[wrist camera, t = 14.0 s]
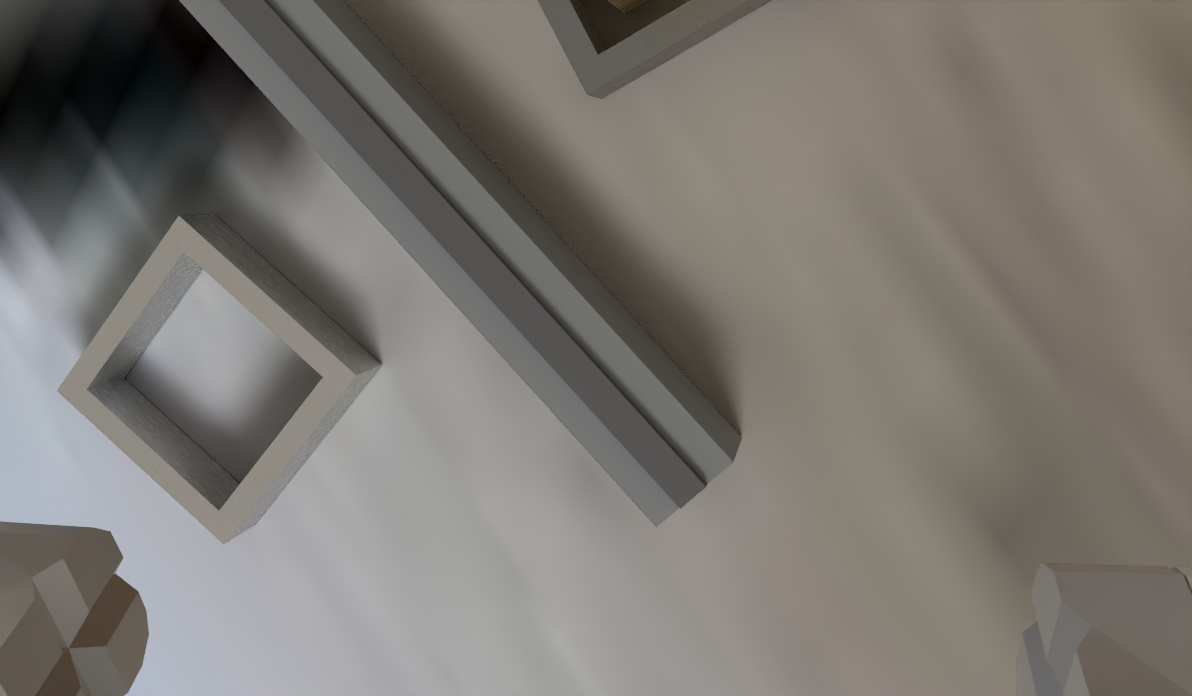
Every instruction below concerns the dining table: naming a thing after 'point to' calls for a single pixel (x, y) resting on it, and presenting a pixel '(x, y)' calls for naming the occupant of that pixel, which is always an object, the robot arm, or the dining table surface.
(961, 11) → the dining table surface
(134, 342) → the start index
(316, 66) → the long grey bar
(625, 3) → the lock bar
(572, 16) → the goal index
